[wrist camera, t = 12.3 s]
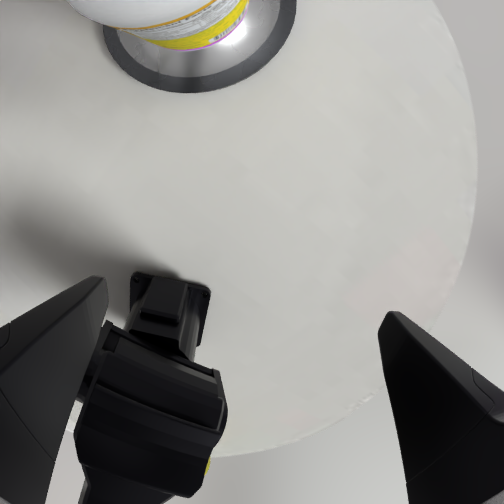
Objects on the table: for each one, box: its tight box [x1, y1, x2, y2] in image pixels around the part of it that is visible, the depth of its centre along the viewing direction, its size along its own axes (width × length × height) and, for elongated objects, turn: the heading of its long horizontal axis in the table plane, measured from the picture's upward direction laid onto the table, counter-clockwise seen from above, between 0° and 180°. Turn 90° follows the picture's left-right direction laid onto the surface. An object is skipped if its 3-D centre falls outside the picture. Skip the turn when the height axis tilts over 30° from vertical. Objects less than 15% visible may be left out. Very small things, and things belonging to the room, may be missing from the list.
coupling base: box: [103, 0, 297, 93], centre depth 14 cm, size 12×12×1 cm
